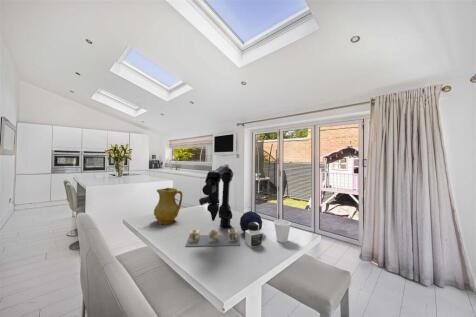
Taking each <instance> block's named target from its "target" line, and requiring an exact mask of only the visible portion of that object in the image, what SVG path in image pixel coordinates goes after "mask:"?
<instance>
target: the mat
mask: <svg viewBox="0 0 476 317" xmlns="http://www.w3.org/2000/svg"><path fill="white" fill-rule="evenodd" d="M189 237H190V234H189V236H188V238H187V240H186V243H185V248H196V247H202V248H203V247H206V248H207V247H240V246H241V244H240V238H239V235H238V234H237V241H228V234H218V242H209V234H199V241H198V242H189Z"/></svg>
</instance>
